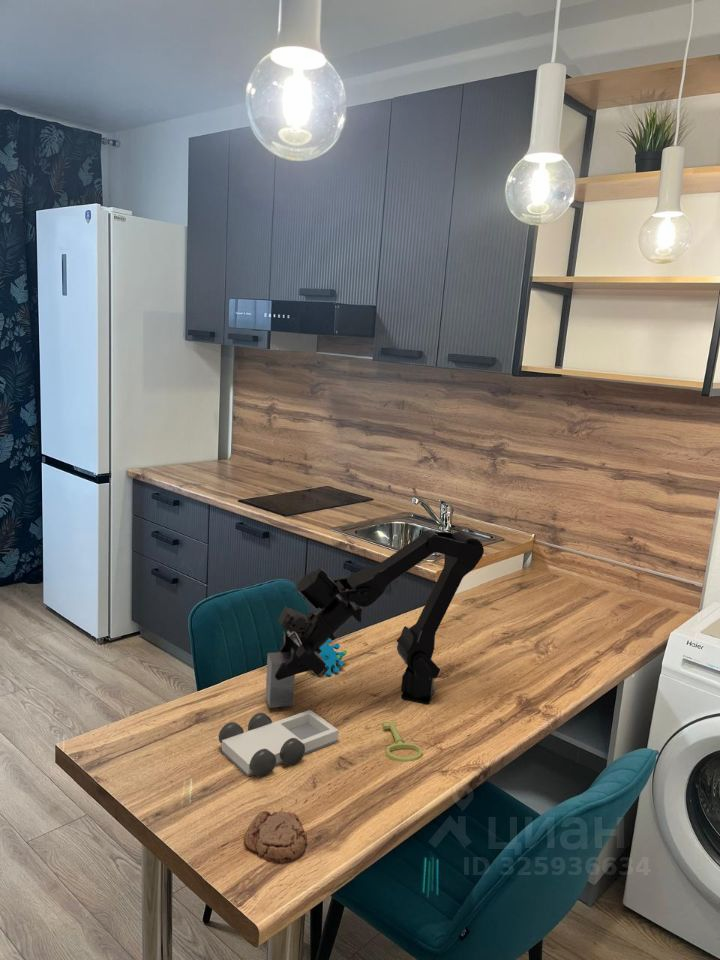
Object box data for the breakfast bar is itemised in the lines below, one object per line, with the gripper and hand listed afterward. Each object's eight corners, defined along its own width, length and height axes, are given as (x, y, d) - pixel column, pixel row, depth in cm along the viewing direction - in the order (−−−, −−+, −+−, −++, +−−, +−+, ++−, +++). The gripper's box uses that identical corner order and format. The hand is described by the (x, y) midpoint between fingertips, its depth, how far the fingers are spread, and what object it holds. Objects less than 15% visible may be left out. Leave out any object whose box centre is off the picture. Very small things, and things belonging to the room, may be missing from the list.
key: (391, 728, 152) (392, 718, 151) (426, 758, 142) (427, 748, 141) (361, 735, 148) (362, 726, 148) (396, 768, 138) (397, 757, 137)
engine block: (288, 694, 159) (290, 651, 157) (292, 705, 154) (295, 661, 152) (265, 696, 157) (267, 652, 155) (269, 707, 153) (271, 663, 151)
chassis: (304, 717, 152) (306, 697, 151) (342, 745, 143) (344, 724, 142) (217, 748, 139) (218, 726, 138) (253, 781, 130) (254, 757, 129)
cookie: (275, 874, 108) (276, 857, 108) (231, 838, 115) (232, 821, 115) (323, 843, 116) (324, 827, 115) (278, 811, 123) (279, 795, 122)
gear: (311, 675, 168) (304, 634, 173) (300, 684, 172) (293, 643, 177) (352, 673, 174) (344, 633, 179) (341, 682, 178) (333, 643, 183)
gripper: (294, 581, 161) (242, 630, 160) (313, 613, 144) (255, 669, 143) (326, 613, 165) (276, 662, 164) (349, 648, 147) (292, 703, 146)
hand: (274, 672), depth 154 cm, fingers closed on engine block, 5 cm apart
